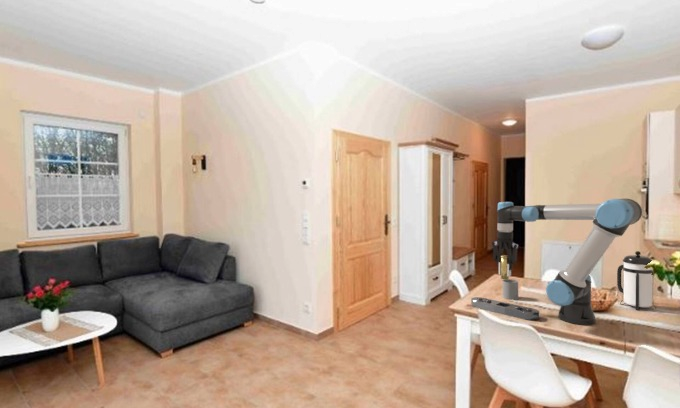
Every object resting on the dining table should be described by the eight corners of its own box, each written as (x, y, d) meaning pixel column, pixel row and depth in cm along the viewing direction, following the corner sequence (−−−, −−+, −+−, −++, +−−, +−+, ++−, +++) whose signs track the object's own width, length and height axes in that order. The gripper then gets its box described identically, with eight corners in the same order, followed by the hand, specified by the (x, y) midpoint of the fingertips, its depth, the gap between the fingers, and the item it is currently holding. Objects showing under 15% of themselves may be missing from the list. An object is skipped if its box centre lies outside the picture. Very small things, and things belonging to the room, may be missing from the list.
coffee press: (657, 306, 194) (658, 250, 193) (654, 313, 183) (655, 254, 182) (617, 299, 207) (617, 247, 206) (612, 306, 196) (612, 251, 195)
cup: (500, 297, 215) (500, 281, 215) (505, 294, 221) (505, 278, 221) (515, 300, 209) (515, 283, 209) (520, 297, 215) (520, 280, 215)
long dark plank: (542, 317, 181) (542, 309, 181) (535, 321, 175) (535, 313, 175) (476, 302, 207) (476, 295, 207) (468, 305, 202) (468, 298, 201)
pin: (511, 278, 192) (511, 255, 192) (506, 279, 189) (507, 257, 189) (502, 276, 196) (502, 254, 195) (498, 278, 193) (498, 255, 192)
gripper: (524, 231, 187) (524, 276, 188) (493, 229, 200) (493, 271, 201) (518, 233, 182) (517, 279, 183) (486, 230, 196) (486, 273, 197)
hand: (504, 274), depth 192 cm, fingers closed on pin, 4 cm apart
